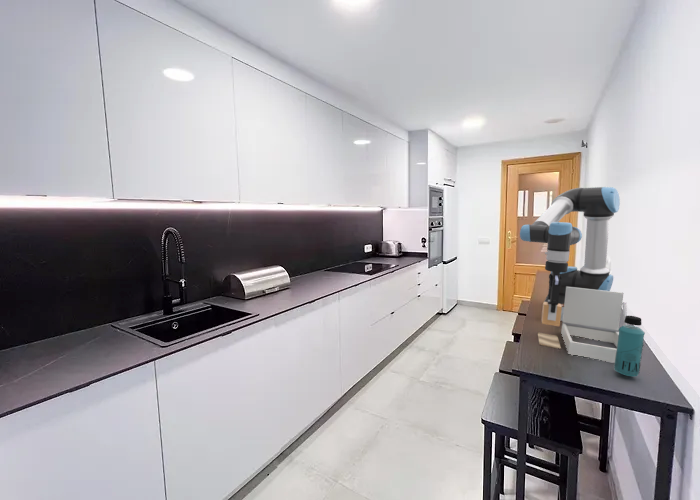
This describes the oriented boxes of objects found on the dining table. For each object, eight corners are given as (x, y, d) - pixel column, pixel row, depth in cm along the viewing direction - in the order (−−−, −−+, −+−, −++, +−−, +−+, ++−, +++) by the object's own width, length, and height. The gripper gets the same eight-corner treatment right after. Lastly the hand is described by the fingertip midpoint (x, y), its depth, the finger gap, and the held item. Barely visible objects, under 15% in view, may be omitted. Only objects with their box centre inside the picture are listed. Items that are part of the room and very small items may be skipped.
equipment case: (561, 333, 142) (566, 286, 139) (620, 343, 133) (627, 292, 130) (568, 354, 121) (574, 299, 119) (639, 367, 112) (648, 308, 109)
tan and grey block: (541, 320, 137) (543, 300, 135) (558, 322, 134) (560, 302, 133) (542, 323, 132) (544, 303, 131) (559, 326, 129) (562, 305, 128)
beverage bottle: (617, 378, 105) (625, 318, 102) (609, 369, 111) (616, 312, 108) (642, 383, 102) (651, 321, 100) (633, 373, 108) (641, 315, 106)
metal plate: (537, 333, 142) (537, 332, 142) (557, 336, 139) (557, 335, 139) (539, 345, 129) (539, 344, 129) (560, 349, 126) (561, 348, 126)
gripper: (544, 257, 139) (538, 310, 142) (547, 263, 123) (541, 322, 126) (565, 259, 136) (559, 313, 139) (571, 265, 120) (564, 326, 123)
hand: (550, 317), depth 133 cm, fingers closed on tan and grey block, 5 cm apart
